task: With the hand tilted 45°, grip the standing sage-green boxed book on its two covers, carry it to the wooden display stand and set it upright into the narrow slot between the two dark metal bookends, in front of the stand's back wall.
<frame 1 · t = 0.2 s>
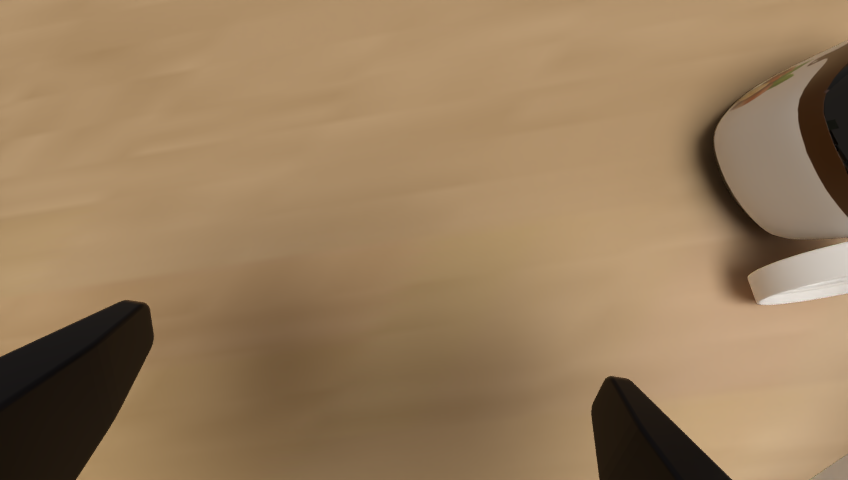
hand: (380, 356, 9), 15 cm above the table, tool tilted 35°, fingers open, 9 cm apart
spread jar: (782, 190, 26), on the table
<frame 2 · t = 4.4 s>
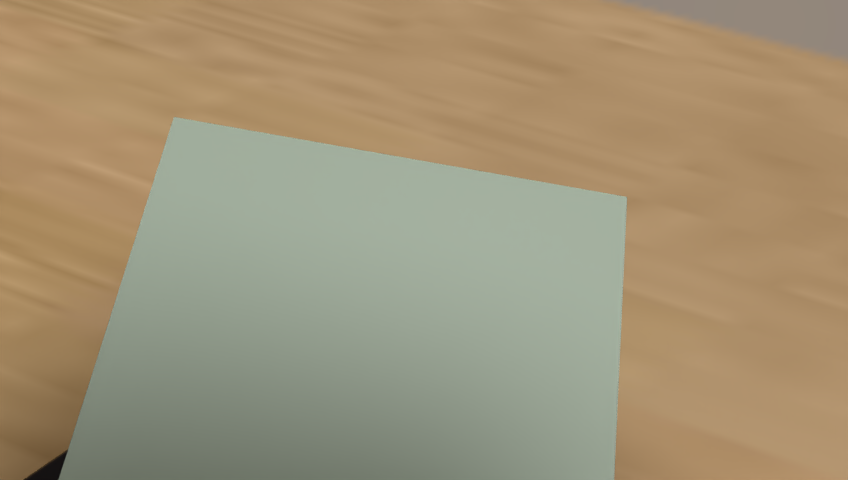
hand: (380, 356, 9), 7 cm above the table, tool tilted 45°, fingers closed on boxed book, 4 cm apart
boxed book: (372, 401, 16), on the table, touching gripper
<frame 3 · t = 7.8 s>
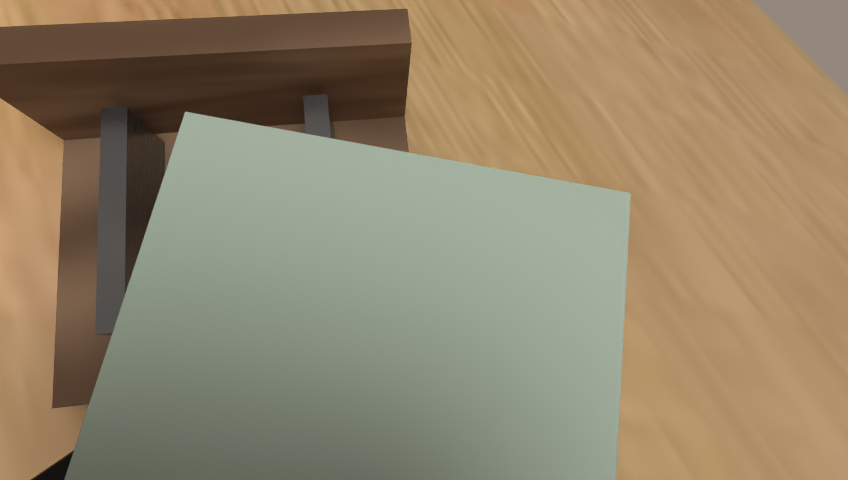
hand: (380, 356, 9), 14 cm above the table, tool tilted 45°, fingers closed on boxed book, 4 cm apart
wooden display stand: (250, 232, 23), on the table
boxed book: (376, 402, 16), point 6 cm above the table, touching gripper
when the fingers open (9 cm above the table, at t = 11.3 s): boxed book drops 1 cm, resting on wooden display stand.
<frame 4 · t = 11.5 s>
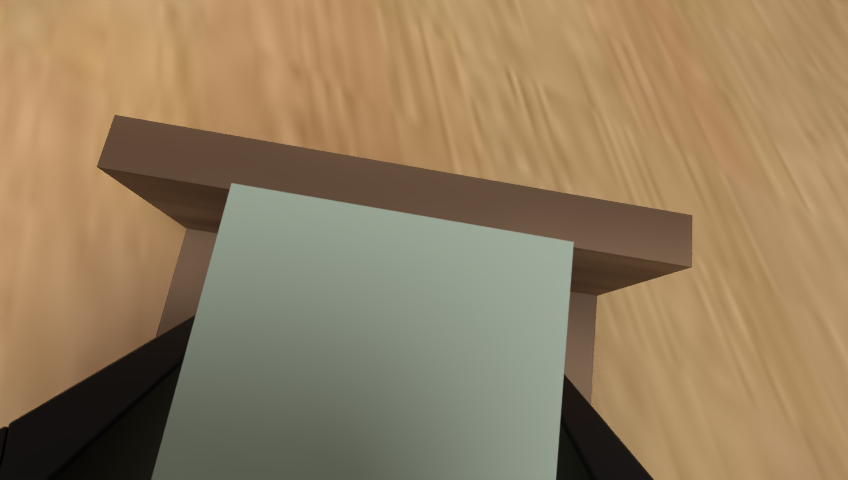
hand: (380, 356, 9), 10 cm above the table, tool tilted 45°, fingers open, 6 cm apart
wooden display stand: (373, 395, 18), on the table
boxed book: (373, 398, 17), point 1 cm above the table, touching wooden display stand
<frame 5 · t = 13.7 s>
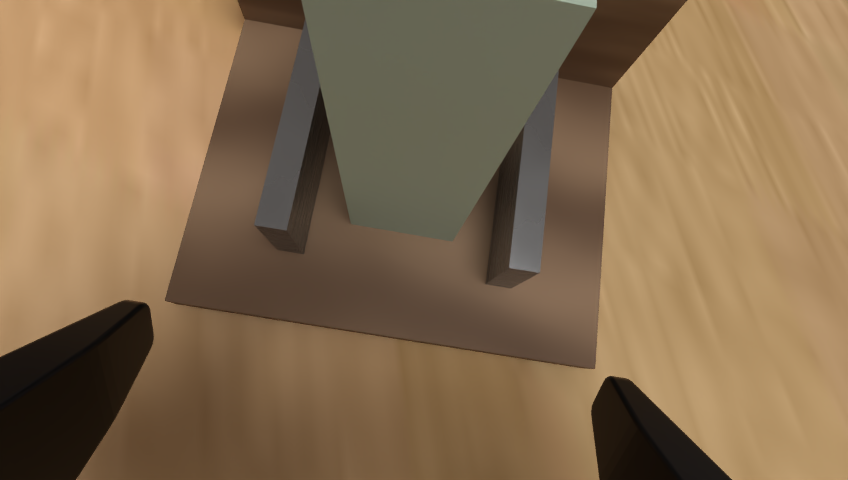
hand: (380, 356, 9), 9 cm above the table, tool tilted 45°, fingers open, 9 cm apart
wooden display stand: (412, 170, 21), on the table
boxed book: (414, 161, 20), point 1 cm above the table, touching wooden display stand
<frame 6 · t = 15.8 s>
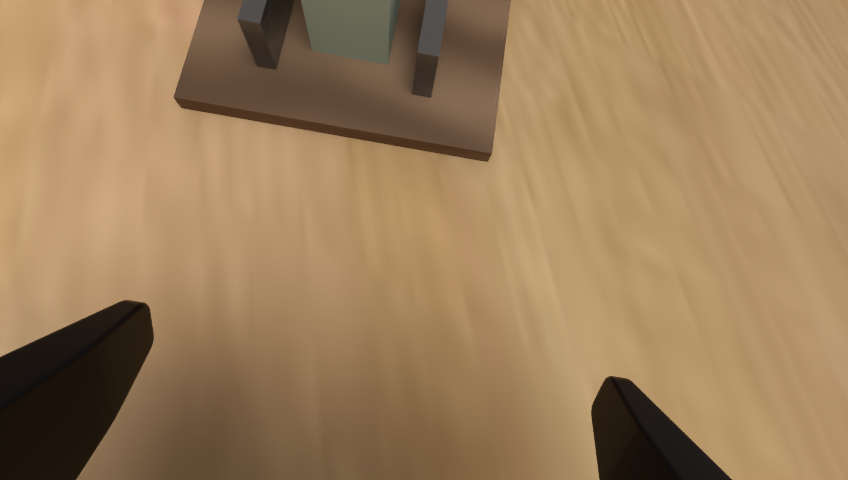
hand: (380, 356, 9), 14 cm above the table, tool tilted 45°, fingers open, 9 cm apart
wooden display stand: (361, 21, 27), on the table
boxed book: (360, 9, 26), point 1 cm above the table, touching wooden display stand
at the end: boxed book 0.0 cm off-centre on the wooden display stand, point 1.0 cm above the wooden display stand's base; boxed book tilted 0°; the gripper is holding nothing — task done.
